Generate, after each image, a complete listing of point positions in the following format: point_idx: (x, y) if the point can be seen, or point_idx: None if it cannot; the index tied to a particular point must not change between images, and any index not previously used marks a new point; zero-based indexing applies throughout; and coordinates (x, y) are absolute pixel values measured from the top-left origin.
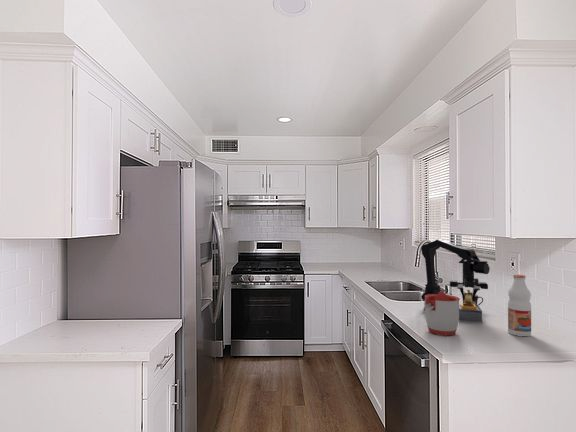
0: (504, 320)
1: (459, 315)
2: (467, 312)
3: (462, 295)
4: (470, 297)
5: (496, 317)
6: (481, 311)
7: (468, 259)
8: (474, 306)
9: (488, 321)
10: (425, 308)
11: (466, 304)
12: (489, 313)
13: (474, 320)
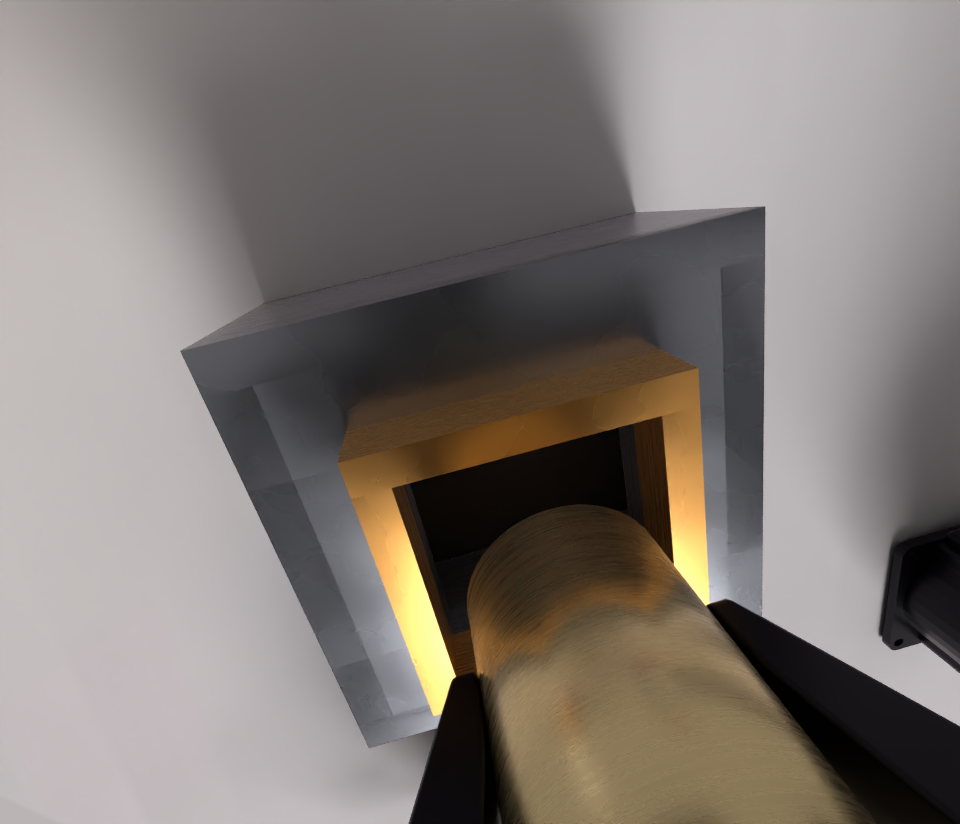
0: (38, 628)
1: (638, 221)
2: (513, 259)
3: (911, 706)
4: (559, 708)
5: (187, 706)
6: (197, 343)
7: None
8: (388, 475)
9: (201, 436)
10: None
11: None
12: (314, 813)
13: (376, 276)
